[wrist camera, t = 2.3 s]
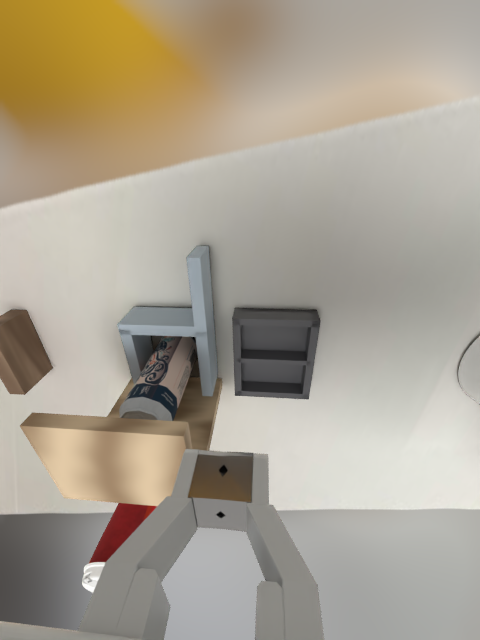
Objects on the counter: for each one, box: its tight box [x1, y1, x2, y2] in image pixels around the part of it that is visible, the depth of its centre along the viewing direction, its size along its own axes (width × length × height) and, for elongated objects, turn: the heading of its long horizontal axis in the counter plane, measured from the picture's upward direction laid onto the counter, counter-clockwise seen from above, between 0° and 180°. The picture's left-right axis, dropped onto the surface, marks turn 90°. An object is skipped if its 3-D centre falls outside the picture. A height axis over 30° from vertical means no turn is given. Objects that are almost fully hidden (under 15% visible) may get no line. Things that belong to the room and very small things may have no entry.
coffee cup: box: [82, 503, 157, 593], centre depth 42 cm, size 8×8×15 cm
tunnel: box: [20, 377, 222, 506], centre depth 28 cm, size 12×10×15 cm
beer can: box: [119, 336, 198, 421], centre depth 29 cm, size 5×5×12 cm
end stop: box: [0, 310, 53, 395], centre depth 33 cm, size 2×9×5 cm, turn 1°
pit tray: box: [232, 308, 320, 399], centre depth 32 cm, size 9×11×2 cm
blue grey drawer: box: [117, 246, 218, 396], centre depth 30 cm, size 9×16×4 cm, turn 1°
